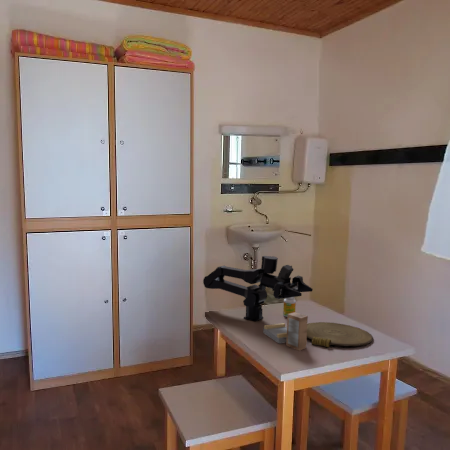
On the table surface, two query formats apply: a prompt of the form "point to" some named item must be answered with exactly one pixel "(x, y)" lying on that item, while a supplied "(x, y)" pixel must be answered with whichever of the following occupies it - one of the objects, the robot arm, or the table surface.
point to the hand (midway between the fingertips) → (307, 292)
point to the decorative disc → (337, 334)
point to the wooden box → (296, 331)
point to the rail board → (276, 332)
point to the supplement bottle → (289, 306)
